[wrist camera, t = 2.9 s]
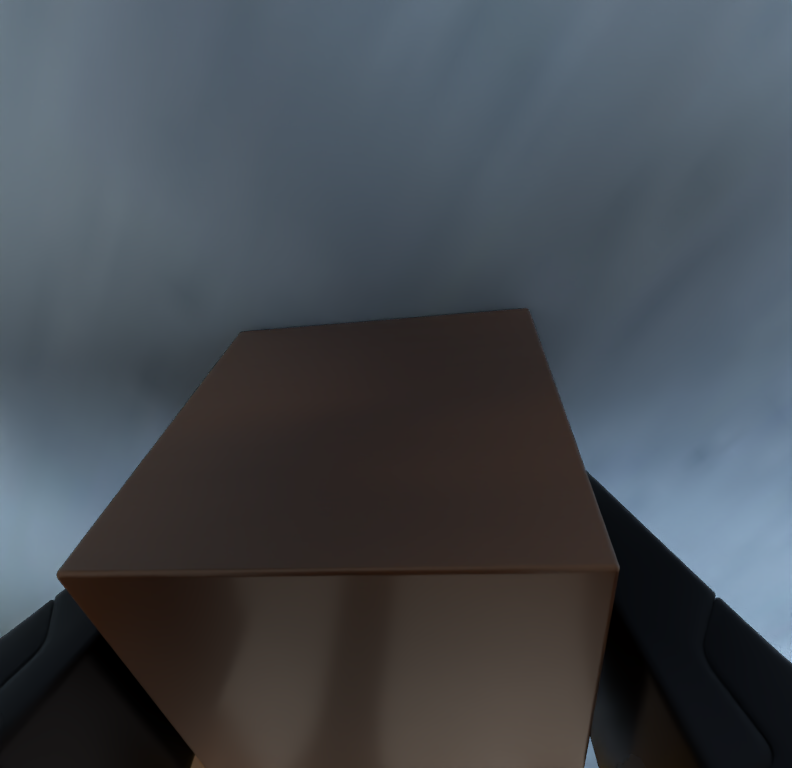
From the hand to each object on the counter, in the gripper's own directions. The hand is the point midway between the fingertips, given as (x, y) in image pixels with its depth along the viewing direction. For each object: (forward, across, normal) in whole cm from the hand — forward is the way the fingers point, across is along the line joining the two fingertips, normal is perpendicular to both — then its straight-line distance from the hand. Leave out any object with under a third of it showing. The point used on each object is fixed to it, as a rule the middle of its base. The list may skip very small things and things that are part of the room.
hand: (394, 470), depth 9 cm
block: (+1, 0, 0) cm, 1 cm away
